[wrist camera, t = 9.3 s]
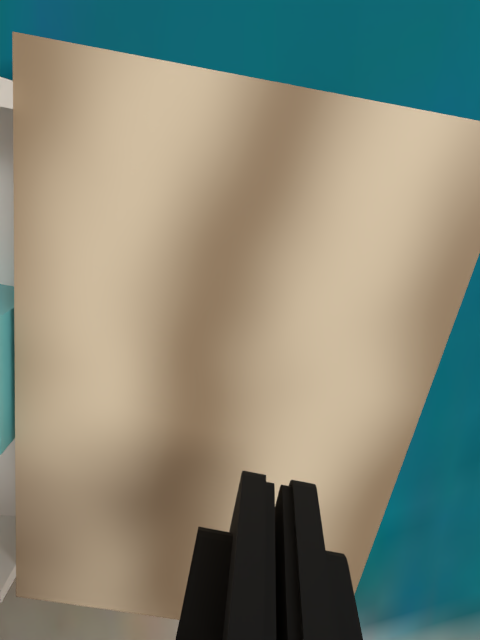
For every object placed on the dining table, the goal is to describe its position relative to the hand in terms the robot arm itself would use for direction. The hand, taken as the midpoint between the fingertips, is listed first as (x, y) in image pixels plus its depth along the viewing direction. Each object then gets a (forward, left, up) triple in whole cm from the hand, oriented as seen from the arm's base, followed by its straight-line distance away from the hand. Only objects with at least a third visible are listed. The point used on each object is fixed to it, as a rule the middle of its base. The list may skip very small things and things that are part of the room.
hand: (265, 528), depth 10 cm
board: (+2, 0, -6) cm, 6 cm away
